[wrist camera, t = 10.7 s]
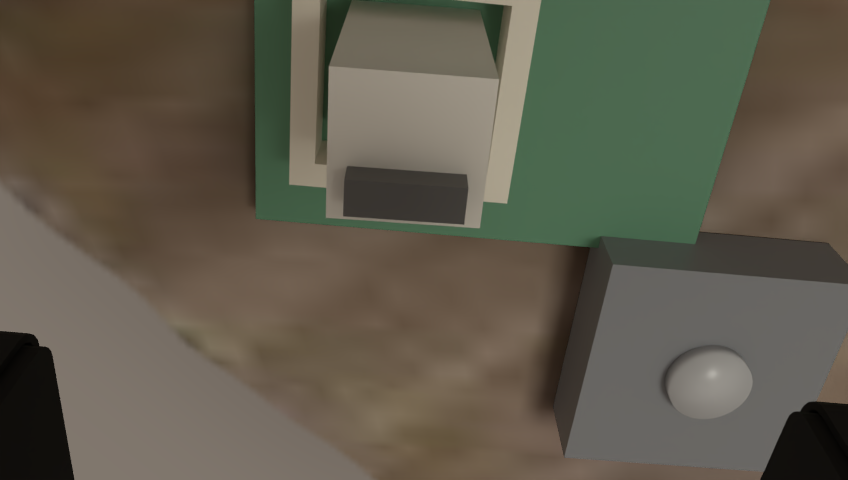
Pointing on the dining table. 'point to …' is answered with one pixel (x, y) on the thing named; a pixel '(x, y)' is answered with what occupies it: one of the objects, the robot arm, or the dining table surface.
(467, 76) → the plug
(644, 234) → the board
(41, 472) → the robot arm
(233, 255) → the dining table surface
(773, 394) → the grey knob block
